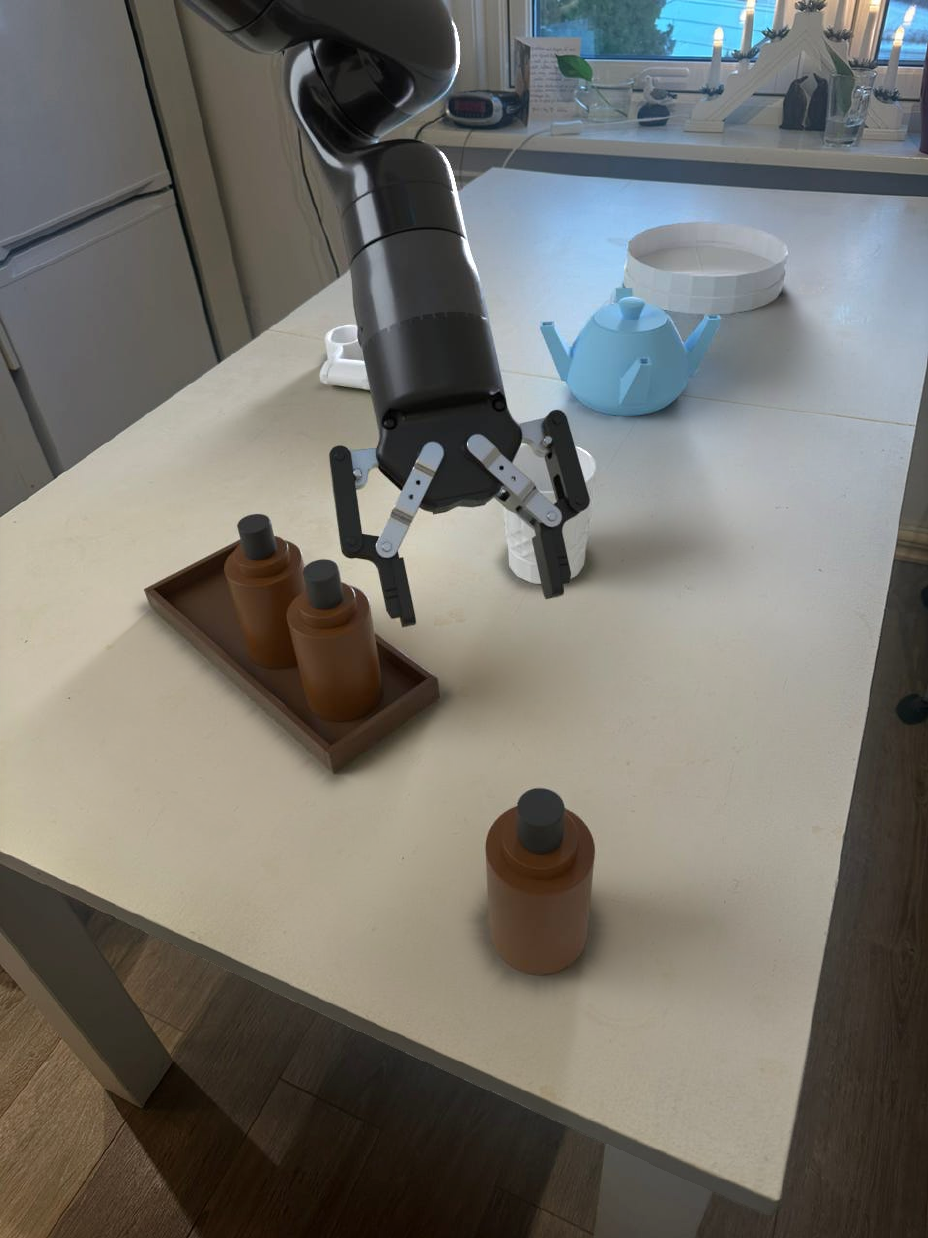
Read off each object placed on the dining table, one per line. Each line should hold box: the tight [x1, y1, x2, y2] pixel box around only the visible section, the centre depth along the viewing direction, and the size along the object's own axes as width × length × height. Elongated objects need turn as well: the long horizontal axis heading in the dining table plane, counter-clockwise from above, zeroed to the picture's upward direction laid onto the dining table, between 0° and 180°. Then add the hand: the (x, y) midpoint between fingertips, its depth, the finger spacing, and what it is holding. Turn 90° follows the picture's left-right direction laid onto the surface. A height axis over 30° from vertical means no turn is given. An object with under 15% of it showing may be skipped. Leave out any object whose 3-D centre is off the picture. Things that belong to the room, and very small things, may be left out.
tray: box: [143, 538, 440, 775], centre depth 70 cm, size 26×10×2 cm, turn 44°
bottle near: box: [287, 558, 383, 722], centre depth 62 cm, size 6×6×12 cm
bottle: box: [484, 787, 596, 976], centre depth 48 cm, size 6×6×12 cm
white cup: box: [502, 444, 598, 585], centre depth 75 cm, size 8×8×10 cm
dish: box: [623, 221, 789, 316], centre depth 123 cm, size 22×22×5 cm
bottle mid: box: [224, 513, 306, 669], centre depth 67 cm, size 6×6×12 cm
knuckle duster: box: [319, 324, 370, 391], centre depth 107 cm, size 3×18×15 cm
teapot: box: [539, 287, 723, 417], centre depth 98 cm, size 15×15×11 cm
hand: (483, 611), depth 49 cm, fingers open, 8 cm apart
